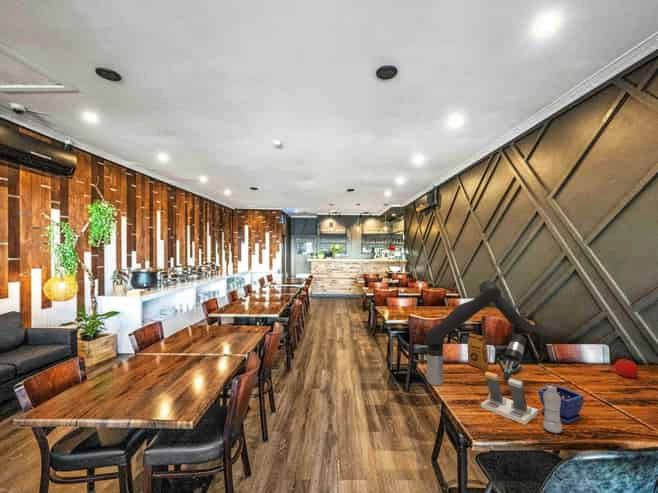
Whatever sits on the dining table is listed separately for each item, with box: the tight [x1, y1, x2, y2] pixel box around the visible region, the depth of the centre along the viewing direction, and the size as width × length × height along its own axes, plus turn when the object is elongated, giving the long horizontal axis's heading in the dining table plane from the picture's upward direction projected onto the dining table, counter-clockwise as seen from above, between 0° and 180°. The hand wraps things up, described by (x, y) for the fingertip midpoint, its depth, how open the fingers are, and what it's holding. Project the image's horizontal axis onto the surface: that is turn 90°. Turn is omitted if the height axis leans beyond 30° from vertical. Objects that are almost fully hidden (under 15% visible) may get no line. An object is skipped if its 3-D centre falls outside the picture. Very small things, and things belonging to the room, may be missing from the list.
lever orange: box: [484, 371, 503, 403], centre depth 151 cm, size 2×5×16 cm, turn 37°
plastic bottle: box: [543, 383, 563, 434], centre depth 131 cm, size 6×7×20 cm
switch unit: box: [480, 393, 539, 426], centre depth 148 cm, size 16×20×5 cm
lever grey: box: [507, 377, 528, 412], centre depth 143 cm, size 2×5×16 cm, turn 37°
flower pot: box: [538, 385, 585, 425], centre depth 142 cm, size 13×13×12 cm
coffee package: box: [466, 333, 489, 370], centre depth 208 cm, size 10×12×22 cm
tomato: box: [614, 358, 639, 379], centre depth 189 cm, size 10×11×11 cm
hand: (505, 379), depth 159 cm, fingers closed
